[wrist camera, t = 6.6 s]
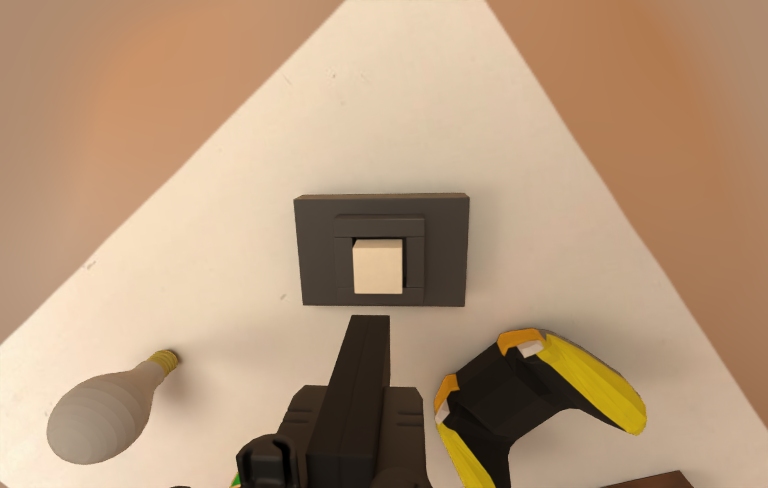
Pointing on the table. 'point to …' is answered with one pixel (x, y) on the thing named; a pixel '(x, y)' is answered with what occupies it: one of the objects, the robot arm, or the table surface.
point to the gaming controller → (525, 400)
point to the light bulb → (106, 412)
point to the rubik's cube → (235, 482)
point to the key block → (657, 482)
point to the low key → (378, 266)
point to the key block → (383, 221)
